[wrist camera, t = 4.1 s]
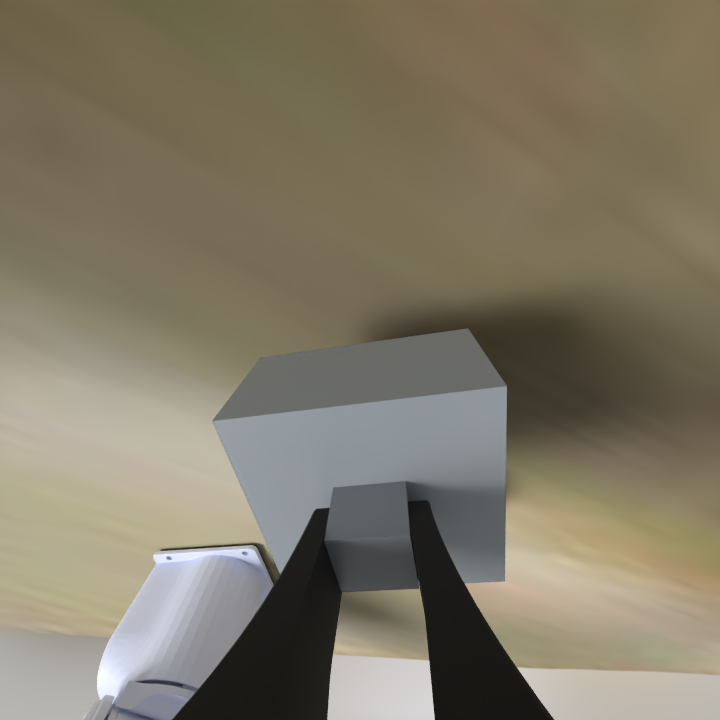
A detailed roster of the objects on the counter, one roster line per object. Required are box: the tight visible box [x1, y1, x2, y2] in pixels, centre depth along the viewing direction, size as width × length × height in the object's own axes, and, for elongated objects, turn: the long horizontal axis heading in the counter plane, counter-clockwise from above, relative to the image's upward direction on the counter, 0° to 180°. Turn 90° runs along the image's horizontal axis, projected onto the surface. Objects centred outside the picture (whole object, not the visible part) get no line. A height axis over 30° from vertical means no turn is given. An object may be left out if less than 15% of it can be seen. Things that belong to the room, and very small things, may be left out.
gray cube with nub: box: [212, 328, 507, 592], centre depth 13 cm, size 9×9×7 cm
